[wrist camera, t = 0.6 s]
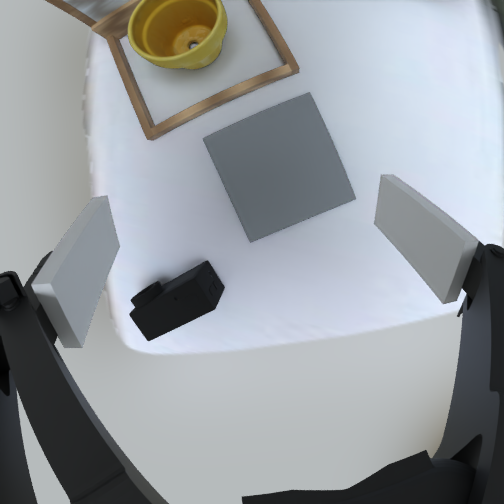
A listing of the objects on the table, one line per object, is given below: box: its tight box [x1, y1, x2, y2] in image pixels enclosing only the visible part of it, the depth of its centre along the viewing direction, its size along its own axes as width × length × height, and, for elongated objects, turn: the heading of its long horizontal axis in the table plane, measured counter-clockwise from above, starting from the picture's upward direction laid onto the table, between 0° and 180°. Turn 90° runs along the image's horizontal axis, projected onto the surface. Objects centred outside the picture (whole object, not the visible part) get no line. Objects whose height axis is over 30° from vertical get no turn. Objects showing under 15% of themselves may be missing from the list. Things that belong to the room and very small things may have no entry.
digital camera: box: [129, 261, 225, 341], centre depth 39 cm, size 10×5×7 cm, turn 120°
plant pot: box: [128, 0, 227, 69], centre depth 29 cm, size 10×10×10 cm
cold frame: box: [46, 0, 299, 140], centre depth 25 cm, size 20×19×18 cm
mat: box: [203, 92, 356, 243], centre depth 36 cm, size 14×14×1 cm
